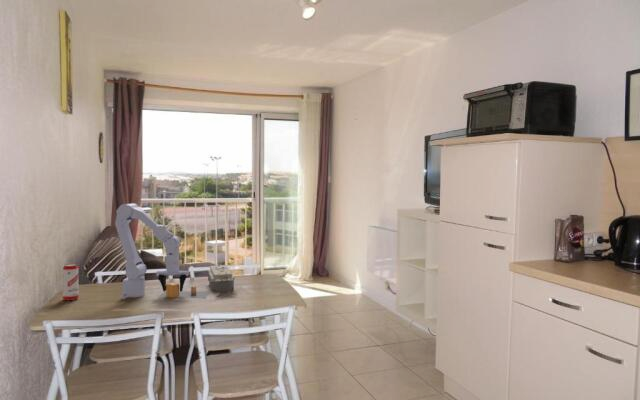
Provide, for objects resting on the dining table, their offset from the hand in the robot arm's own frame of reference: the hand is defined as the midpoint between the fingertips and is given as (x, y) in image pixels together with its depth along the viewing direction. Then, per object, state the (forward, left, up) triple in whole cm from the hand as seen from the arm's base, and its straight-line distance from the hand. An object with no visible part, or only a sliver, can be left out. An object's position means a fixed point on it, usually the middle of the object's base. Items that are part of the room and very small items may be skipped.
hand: (172, 290), depth 209 cm
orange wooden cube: (0, 0, -2) cm, 2 cm away
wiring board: (+5, +2, -3) cm, 6 cm away
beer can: (-45, -3, -4) cm, 45 cm away
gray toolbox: (+19, +19, -4) cm, 27 cm away
